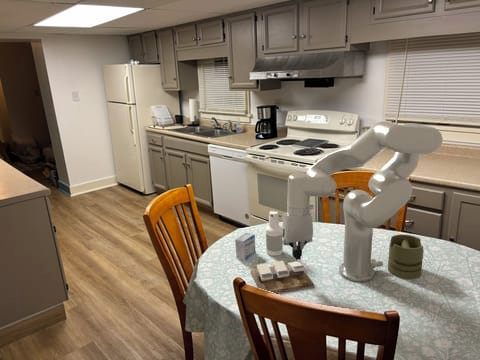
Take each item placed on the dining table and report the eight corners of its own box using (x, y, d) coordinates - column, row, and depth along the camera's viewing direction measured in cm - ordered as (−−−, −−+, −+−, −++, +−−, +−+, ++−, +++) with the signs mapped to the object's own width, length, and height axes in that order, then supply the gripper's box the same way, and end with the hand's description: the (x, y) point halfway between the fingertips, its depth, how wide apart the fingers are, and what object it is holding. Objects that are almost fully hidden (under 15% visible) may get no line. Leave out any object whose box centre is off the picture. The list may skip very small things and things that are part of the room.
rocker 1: (267, 265, 135) (267, 262, 135) (272, 278, 129) (273, 276, 129) (256, 267, 134) (256, 264, 134) (262, 280, 128) (262, 277, 128)
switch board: (297, 265, 143) (297, 257, 142) (313, 286, 129) (313, 278, 128) (250, 272, 139) (250, 265, 138) (261, 295, 125) (261, 287, 124)
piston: (391, 247, 128) (388, 233, 138) (389, 277, 132) (386, 261, 142) (427, 250, 125) (421, 235, 135) (423, 280, 129) (418, 264, 139)
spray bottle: (263, 254, 152) (262, 214, 147) (270, 247, 158) (269, 208, 153) (279, 257, 149) (278, 216, 144) (285, 250, 155) (284, 210, 149)
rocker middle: (282, 263, 136) (282, 260, 136) (289, 276, 130) (289, 273, 130) (272, 264, 136) (272, 261, 135) (278, 278, 130) (278, 275, 129)
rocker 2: (298, 264, 138) (297, 260, 138) (305, 270, 131) (304, 266, 131) (288, 266, 137) (287, 262, 137) (294, 272, 130) (294, 268, 130)
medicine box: (244, 261, 148) (243, 241, 145) (236, 258, 150) (234, 239, 148) (256, 253, 154) (255, 234, 151) (247, 250, 156) (246, 231, 154)
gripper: (314, 203, 129) (312, 250, 135) (273, 208, 126) (273, 255, 132) (323, 211, 122) (321, 260, 128) (280, 216, 119) (280, 266, 125)
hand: (297, 258), depth 130 cm, fingers closed
